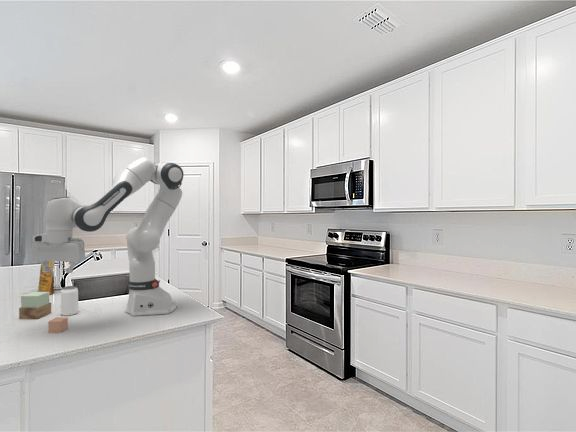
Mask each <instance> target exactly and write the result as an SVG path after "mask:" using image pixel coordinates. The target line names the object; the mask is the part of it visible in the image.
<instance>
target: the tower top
mask: <svg viewBox="0 0 576 432" xmlns="http://www.w3.org/2000/svg"><path fill="white" fill-rule="evenodd" d="M20 300H21V301H20V307H21V308H38V307H41V306H43V305H45V304H48V303H50V295H49V292H39V291H32V292H28V293H26V294H23V295H21V296H20Z"/></svg>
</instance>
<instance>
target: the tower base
mask: <svg viewBox="0 0 576 432" xmlns="http://www.w3.org/2000/svg"><path fill="white" fill-rule="evenodd" d="M51 314H52V302H49V303H48V304H45V305H43V306H41V307H38V308H21V306H20V307H19V308H18V320H39V319H42V318H44V317H47V316H48V315H51Z"/></svg>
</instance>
